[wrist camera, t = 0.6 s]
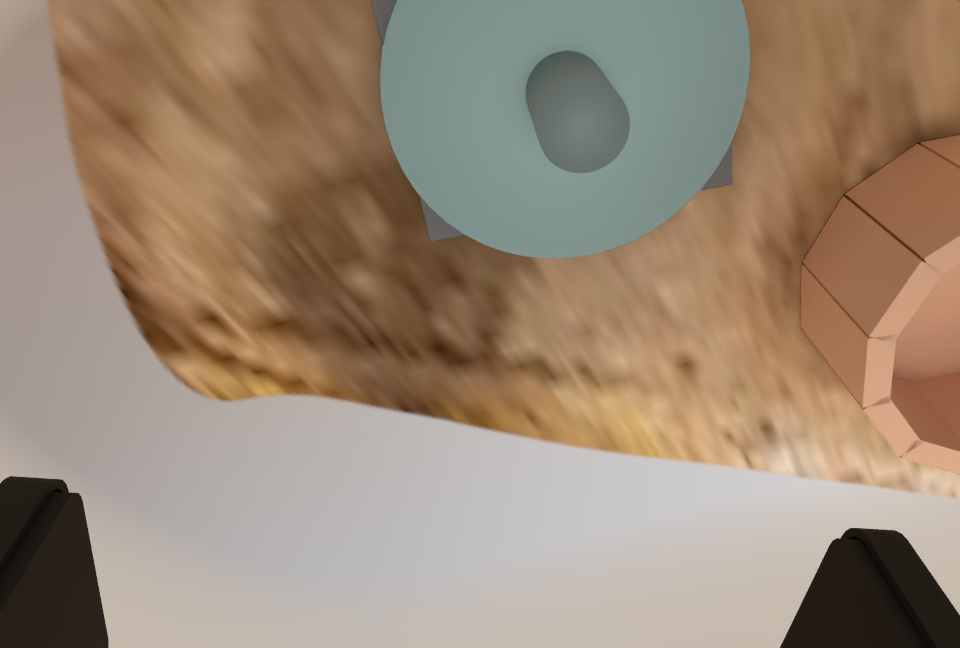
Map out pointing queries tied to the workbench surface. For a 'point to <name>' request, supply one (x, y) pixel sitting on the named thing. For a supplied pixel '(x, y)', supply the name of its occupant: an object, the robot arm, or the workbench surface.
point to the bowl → (895, 300)
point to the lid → (562, 113)
